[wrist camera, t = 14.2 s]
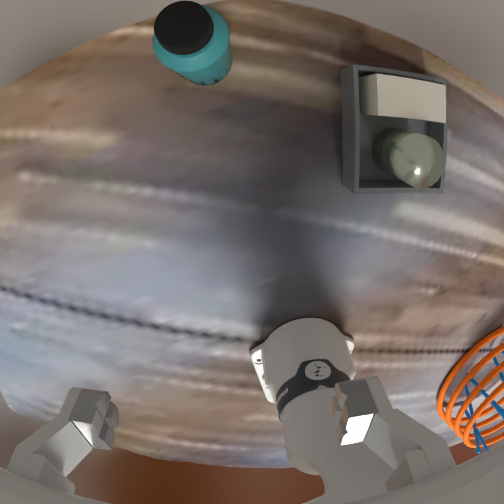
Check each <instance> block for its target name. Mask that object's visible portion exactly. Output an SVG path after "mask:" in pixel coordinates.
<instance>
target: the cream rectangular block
mask: <svg viewBox="0 0 504 504" xmlns="http://www.w3.org/2000/svg"><path fill="white" fill-rule="evenodd" d="M358 82H359V109H360V114H364V115H378V116H390V117H401V118H410V119H419V120H427V121H434V122H441V123H446V86H445V85H442V84H437V83H432V82H427V81H422V80H416V79H411V78H405V77H398V76H391V75H384V74H372V75H368V76H363V77H359V78H358Z"/></svg>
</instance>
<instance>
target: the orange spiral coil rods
mask: <svg viewBox="0 0 504 504" xmlns="http://www.w3.org/2000/svg"><path fill="white" fill-rule="evenodd" d="M503 333H504V326H503V327H501V328H499V329H497V330H495V331H493V332H492V333H490V334H489V335H487V336H486V337H484V338H483V339H482V340H481V341H479V342H478V343H477V344H476V345H475V346H474V347H472V348H471V349H470V350H469V351H468V352H467V353H466V354H465V355H464V356H463V357H462V359H461V360H460V361H459V362H458V363H457V364H456V366H455V367H454V368H453V370H452V371H451V372H450V374H449V375H448V377H447V378H446V380H445V382H444V384H443V386H442V388H441V390H440V392H439V395H438V399H437V411H438V414H439V416H440V417H441V418H442V419H443V420H445V421H446V423H447V424H448V426H449V427H450V428H452V429H454V430H455V433H456V435H457V436H459V437H460V438H462V439H463V441H464V443H465V444H466V445H467V446H468V447H472V448H477V453H480V452H481V451H480V447H484V449H485V451H488V448H487V445H490V444H493V443H495V442H497V441H499V440H501V439H503V438H504V433H502V434H500V435H498V436H496V437H494V438H492V439H489V440H486V441H484V440H483V439H482V437H483V436H486V435H488V434H490V433H492V432H494V431H496V430H498V429H500V428H501V427H503V426H504V421H502V422H501V423H499V424H497V425H496V426H494V427H492V428H490V429H487V430H485V431H482V432H479V431H478V429H477V428H480V427H482V426H485V425H487V424H489V423H491V422H493V421H494V420H496V419H498V418H499V417H501V416H502V418H503V419H504V409H502V408H501V407H500V405H501V404H503V403H504V397H503V398H502V399H501V400H499V401H498V402H497V403H496V402H495V401H494V399H495V398H496V397H497V396H498V395H499V394H500V393H501V392H502V391H503V390H504V376H503V374H502V370H503V369H504V361H503V362H502V363H501V364H498V362H497V359H496V357H495V356H496V355H497V354H499V353H500V352H501V353H502V354H504V343H502V344H501V345H499V346H498V347H496V348H495V349H494V350H490V353H488V354H487V355H486V356H485V357H484V358H483V359H482V360H480V361H479V362H478V363H477V364H476V365H475V366H474V367H473V368H472V369H471V371H470V372H469V373H466V376H465V377H464V379H463V380H462V381H461V382H460V384H459V385H458V387H457V388H456V390H455V391H454V393H453V394H452V396H451V398H450V400H449V403H448V405H447V408H446V413H445V412H444V410H443V399H444V395H445V393H446V390H447V389H448V387H449V385H450V383H451V381H452V380H453V378H454V377H455V375H456V374H457V373H458V371H459V370H460V369H461V368H462V367H463V365H464V364H465V363H466V362H467V361H468V360H469V359H470V358H471V357H472V356H473V355H474V354H475V353H476V352H477V351H478V350H479V349H481V348H482V347H483V346H484V345H485V344H487V343H488V342H489V341H491V340H492V339H494V338H495V337H497V336H499V335H501V334H503ZM492 358H493V360H494V362H495V365H496V368H495V369H493V370H492V371H491V372H490V373H489V374H488V375H487V376H486V377H485V378H484V379H483V380H482V381H481V382H480V383H479V384H478V383H477V382H476V381H475V380H474V379H473V378H472V377H473V376H474V375H475V374H476V373H477V372H478V371H479V370H480V369H481V368H482V367H483V366H484V365H485V364H486V363H487V362H489V361H490V360H491V359H492ZM498 373H499V375H500V377H501V380H502V383H501V384H500V385H499V386H498V387H497V388H496V389H495V390H494V391H493V392H492V393H491V394H490V395H488V394H487V393H486V392H485V391H484V390H483V388H484V387H485V386H486V385H487V384H488V383H489V382H490V381H491V380H492V379H493V378H494V377H495V376H496V375H497V374H498ZM469 381H471V382H472V383H473V384H474V385H475V386H476V387H475V389H474V390H473V391H472V392H471V393H470V395H469V391H468V387H467V385H466V384H467V383H468V382H469ZM464 387H465V391H466V395H467V399H466V400H465V401H464V403H462V401H461V402H459V403H460V405H461V408H460V409H459V411H458V413H457V416H456V418H453V417H451V413H452V408H453V406H454V403H455V401H456V399H457V398H458V396H459V394H460V393H461V391H462V390H463V388H464ZM479 392H481V393H482V394H483V395H484V396H485V398H486V399H485V400H484V401H483V402H482V403H481V405H480V406H479V407H478V408H477V410H476V411H475V412H474V413H473V408H472V404H471V402H472V400H473V399H474V398H475V397H476V396H477V394H478V393H479ZM490 403H491V405H492V406H491V407H489V408H487V409H486V410H484V409H485V408H486V407H487V406H488V405H489V404H490ZM468 406H469V409H470V413H471V416H470V415H469V413H468V411H467V408H468ZM494 409H496V410H497V412H498V413H497V414H495V415H494V416H492V417H490V418H488V419H486V420H484V421H482V422H479V423H476V422H475V421H476V420H477V419H478V418H480V417H482V416H484V415H486V414H488V413H490V412H491V411H493V410H494ZM464 412H465V414H466V415H467V417H464V418H462V416H463V414H464ZM465 422H468V423H467V425H466V426H461V425H460V423H465ZM470 430H474V433H473V434H469V433H470ZM462 431H464V432H462ZM478 438H479V439H480V441H481V442H479V439H478ZM470 439H475V440H476V442H472V441H471V440H470Z"/></svg>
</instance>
